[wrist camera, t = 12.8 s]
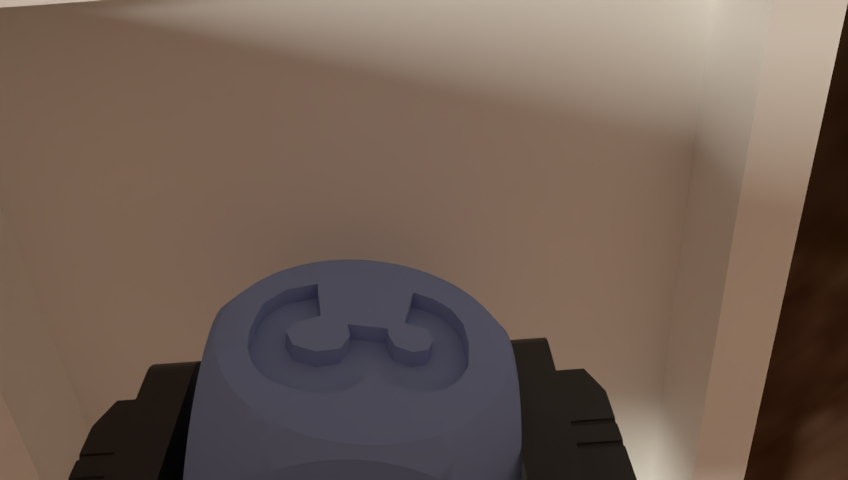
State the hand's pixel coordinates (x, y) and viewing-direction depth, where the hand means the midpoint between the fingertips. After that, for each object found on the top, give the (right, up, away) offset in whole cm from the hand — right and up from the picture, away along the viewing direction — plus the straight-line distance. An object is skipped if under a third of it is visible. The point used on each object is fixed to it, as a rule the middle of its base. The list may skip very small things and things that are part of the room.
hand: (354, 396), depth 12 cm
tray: (0, +2, +3) cm, 3 cm away
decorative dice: (0, +1, +1) cm, 1 cm away
